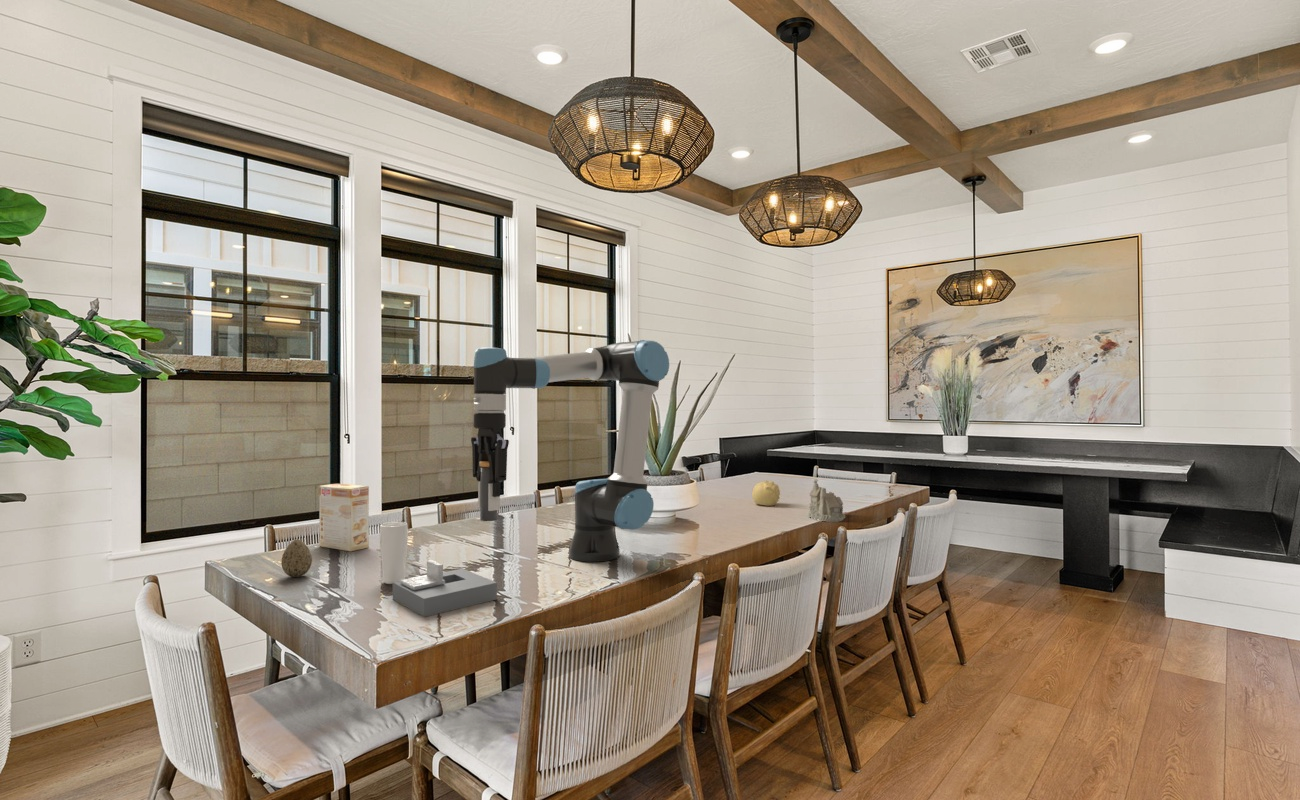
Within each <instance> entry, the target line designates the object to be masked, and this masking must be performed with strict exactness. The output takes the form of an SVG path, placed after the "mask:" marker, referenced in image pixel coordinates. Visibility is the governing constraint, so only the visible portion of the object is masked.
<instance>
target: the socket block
mask: <svg viewBox="0 0 1300 800" xmlns="http://www.w3.org/2000/svg"><path fill="white" fill-rule="evenodd" d="M443 580H445V584H442V585H437V586H432V587H428V588H423V589H418V590H412V589H410V588H408V587H407V586H405V585H403V584H401V583H400V581H397V582H393V584H392V600H393V601H395V602H397V603H398V604H400V605H401V606H404V607H406V608H408V609H410V610H411V611H413V612H414V613H416V614H418V615H420V616H421V617H423V618H424V617H430V616H435V615H438V614H442V613H446V612H451V611H455V610H459V609H462V608H467V607H470V606H476V605H479V604H482V603H483V604H484V603H488V602H491V601H495V600H498V582H497V581H494V580H492V579H489V578H487V577H484V576H482V575H479V574H477V573H474V572H472V571H470V570H467V569H465V568H458V569H453V570H447V571H443Z"/></svg>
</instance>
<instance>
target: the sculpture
mask: <svg viewBox="0 0 1300 800" xmlns="http://www.w3.org/2000/svg"><path fill="white" fill-rule="evenodd" d="M751 494H752V495H751V496H752V500H753V502H754V503H755V504H756V505H761V506H766V507H773V506H775V505H777V504H778V502H779V500H780V496H781V491H780V487H779V485H778V484H776V483H775V482H774V481H772V480H771V481H770V480H765V481H760V482H758V483H756V484H755V485H754V487H753V489H752V493H751Z"/></svg>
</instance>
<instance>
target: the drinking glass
mask: <svg viewBox="0 0 1300 800" xmlns="http://www.w3.org/2000/svg"><path fill="white" fill-rule="evenodd" d="M408 527H409V526H408V522H405V521H391V522H389V521H388V522H383V523H381V524H380V525H379V545H380V546H379V548H380V556H381V557H380V559H381V568H382V582H383V583H384V584H385V585H393V582H397V581H400V580H403V579H406V562H407V552H408V551H407V550H408V543H409V542H408V540H409V537H408V535H409V531H408Z"/></svg>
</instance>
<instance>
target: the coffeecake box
mask: <svg viewBox="0 0 1300 800" xmlns="http://www.w3.org/2000/svg"><path fill="white" fill-rule="evenodd" d="M369 487H370V486H369V485H358V484H357V485H356V484H347V483H330V484H324V485H319V490H318V491H319V493H318V494H319V500H318V501H319V503H318V504H319V507H318V508H319V513H318V514H319V547H320V546H321V548H328V549H334V550H340V551H346V552H354V551H358V550H363V549H367V548H370V546H369V545H370V544H369V543H370V541H369V540H370V536H369V534H370V533H369V532H370V531H369V530H370V527H369V526H370V521H369V519H370V517H369V514H370V513H369V511H370V508H369V506H370V505H369V502H370V501H369V500H370V499H369V498H370V497H369V496H370V495H369V494H370V493H369V491H370V489H369Z"/></svg>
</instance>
